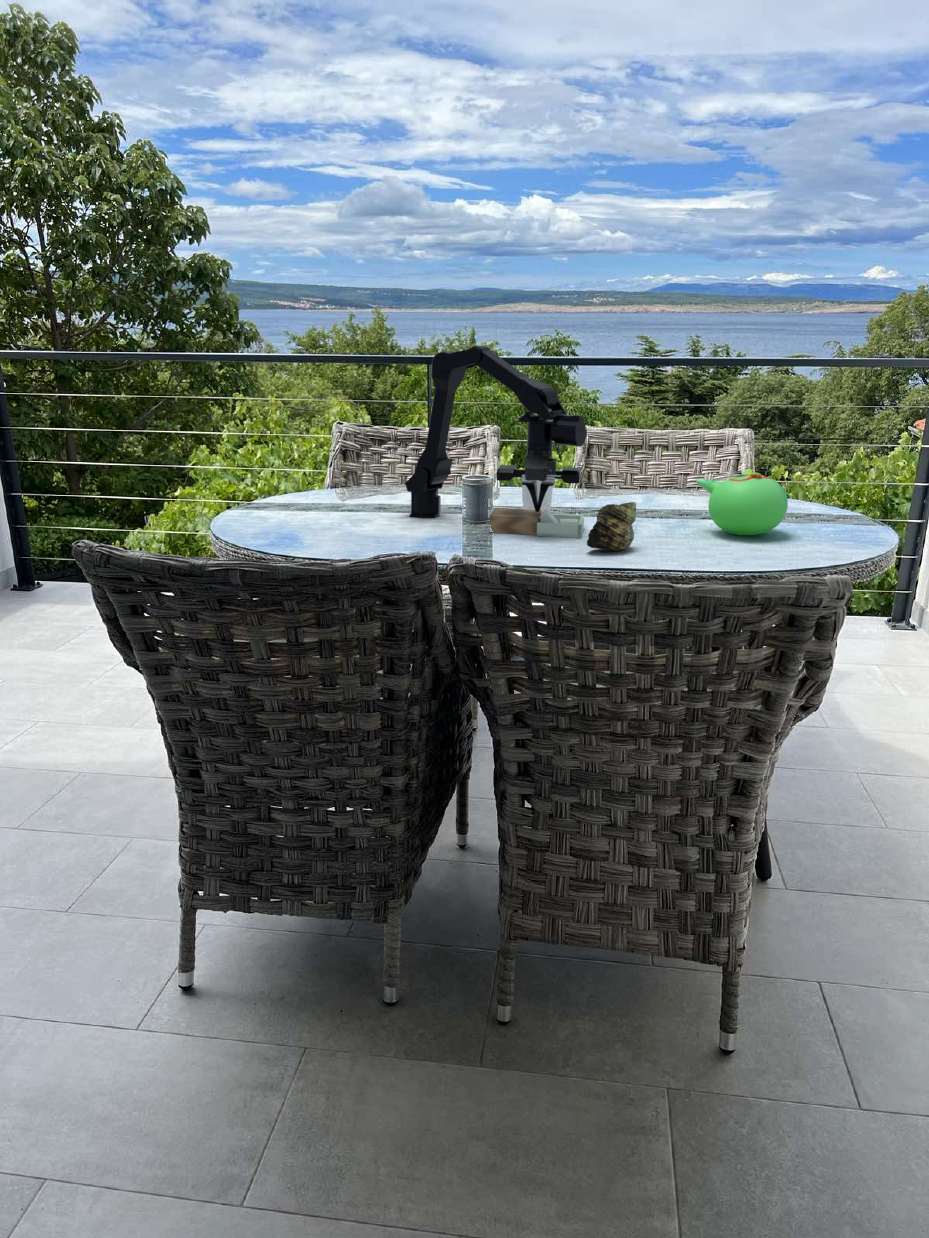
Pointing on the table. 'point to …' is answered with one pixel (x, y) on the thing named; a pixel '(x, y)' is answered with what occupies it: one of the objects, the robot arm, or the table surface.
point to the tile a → (547, 517)
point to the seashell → (613, 527)
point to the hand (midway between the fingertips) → (537, 511)
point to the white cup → (546, 501)
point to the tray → (562, 527)
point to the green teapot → (746, 503)
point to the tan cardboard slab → (514, 521)
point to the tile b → (569, 521)
